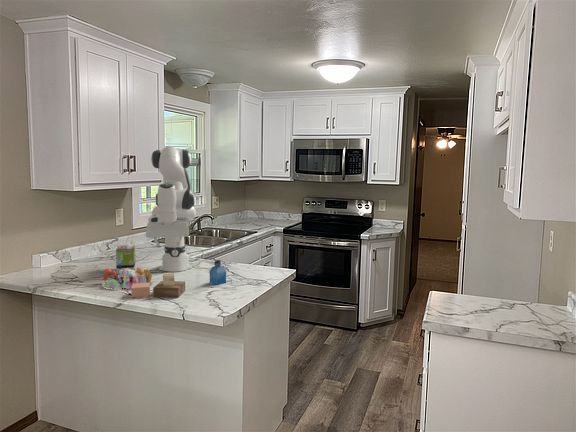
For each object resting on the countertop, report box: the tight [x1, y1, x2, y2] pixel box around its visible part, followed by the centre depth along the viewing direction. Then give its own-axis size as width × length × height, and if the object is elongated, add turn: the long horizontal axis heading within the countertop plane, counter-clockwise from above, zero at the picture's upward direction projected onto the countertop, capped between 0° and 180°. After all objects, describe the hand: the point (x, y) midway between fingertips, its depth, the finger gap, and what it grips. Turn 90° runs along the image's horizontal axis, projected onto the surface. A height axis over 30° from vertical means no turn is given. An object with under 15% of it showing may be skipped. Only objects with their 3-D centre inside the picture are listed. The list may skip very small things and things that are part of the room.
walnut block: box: [152, 280, 186, 299], centre depth 217 cm, size 12×12×5 cm
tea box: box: [115, 244, 137, 275], centre depth 261 cm, size 15×10×15 cm, turn 16°
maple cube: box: [162, 272, 175, 286], centre depth 216 cm, size 5×5×5 cm
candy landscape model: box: [102, 266, 153, 290], centre depth 233 cm, size 25×24×9 cm
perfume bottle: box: [209, 259, 227, 286], centre depth 237 cm, size 6×6×12 cm
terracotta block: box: [130, 283, 151, 298], centre depth 214 cm, size 8×8×5 cm
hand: (168, 246), depth 215 cm, fingers open, 8 cm apart
